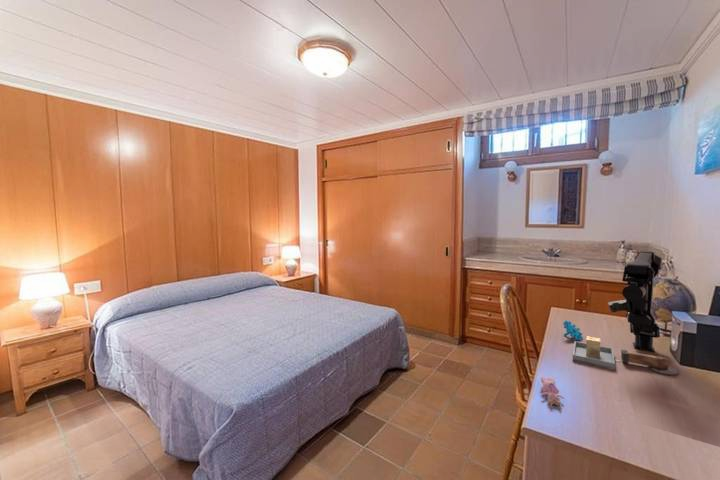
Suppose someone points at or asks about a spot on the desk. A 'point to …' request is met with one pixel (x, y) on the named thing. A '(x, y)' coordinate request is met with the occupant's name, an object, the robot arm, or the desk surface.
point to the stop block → (593, 347)
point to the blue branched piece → (572, 330)
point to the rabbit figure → (551, 391)
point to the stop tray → (604, 361)
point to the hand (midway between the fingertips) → (635, 335)
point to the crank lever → (645, 359)
